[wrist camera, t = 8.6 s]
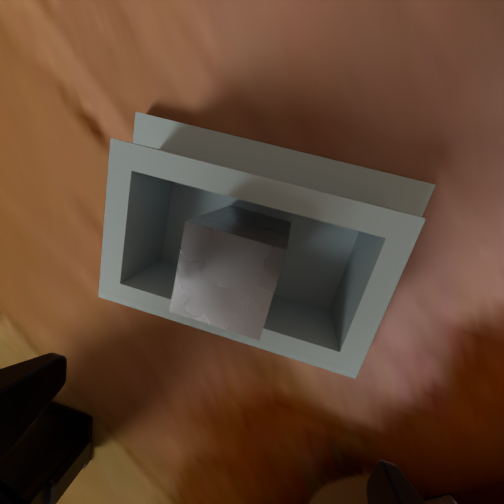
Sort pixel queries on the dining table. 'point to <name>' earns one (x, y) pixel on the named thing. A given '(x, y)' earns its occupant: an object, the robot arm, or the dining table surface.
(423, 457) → the dining table surface
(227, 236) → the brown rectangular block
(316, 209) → the grey open box
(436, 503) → the letter holder
